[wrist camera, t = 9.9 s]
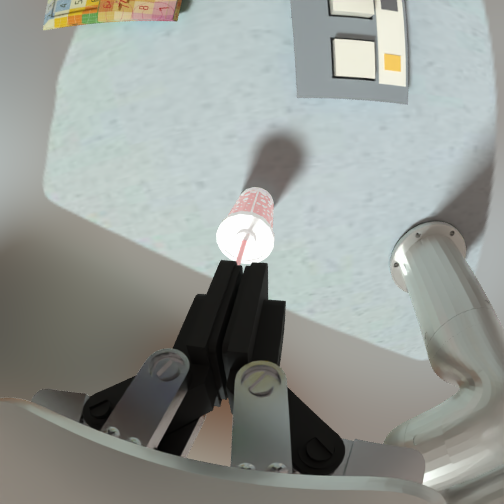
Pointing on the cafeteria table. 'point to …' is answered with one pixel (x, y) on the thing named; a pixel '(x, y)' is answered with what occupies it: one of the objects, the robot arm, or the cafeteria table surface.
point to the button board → (350, 28)
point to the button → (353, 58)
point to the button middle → (352, 8)
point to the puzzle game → (108, 11)
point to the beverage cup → (248, 227)
